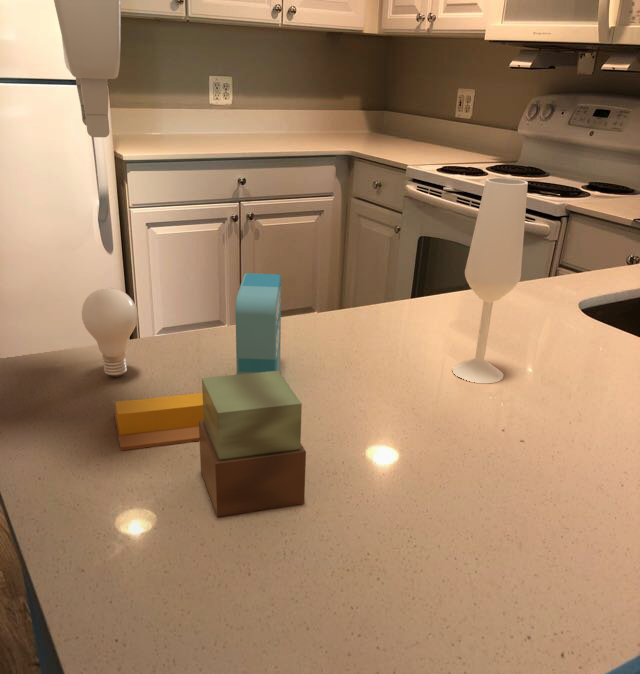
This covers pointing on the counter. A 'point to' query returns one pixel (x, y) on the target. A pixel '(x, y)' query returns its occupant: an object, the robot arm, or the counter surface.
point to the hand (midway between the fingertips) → (95, 130)
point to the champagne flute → (494, 262)
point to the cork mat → (157, 437)
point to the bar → (159, 413)
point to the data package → (258, 323)
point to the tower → (251, 443)
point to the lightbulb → (110, 325)
